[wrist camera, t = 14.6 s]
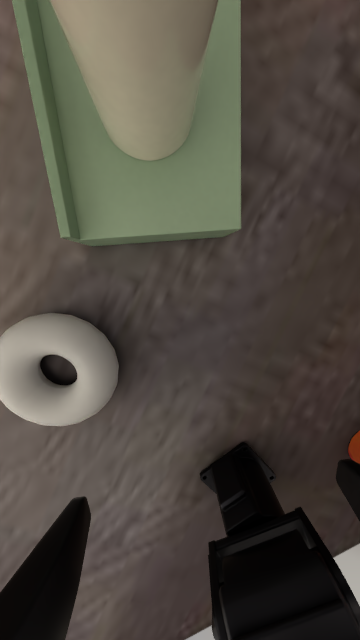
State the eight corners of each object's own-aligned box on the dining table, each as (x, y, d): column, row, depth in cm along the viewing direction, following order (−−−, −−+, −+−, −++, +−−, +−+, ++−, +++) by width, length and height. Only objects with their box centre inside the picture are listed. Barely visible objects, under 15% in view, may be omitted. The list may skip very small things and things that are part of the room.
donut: (142, 346, 20) (39, 285, 18) (139, 363, 17) (11, 291, 14) (89, 424, 21) (-12, 377, 19) (76, 453, 18) (-48, 401, 16)
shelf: (224, 237, 18) (250, 224, 13) (91, 246, 17) (60, 237, 12) (218, -24, 14) (254, -205, 9) (45, -24, 13) (-34, -220, 8)
